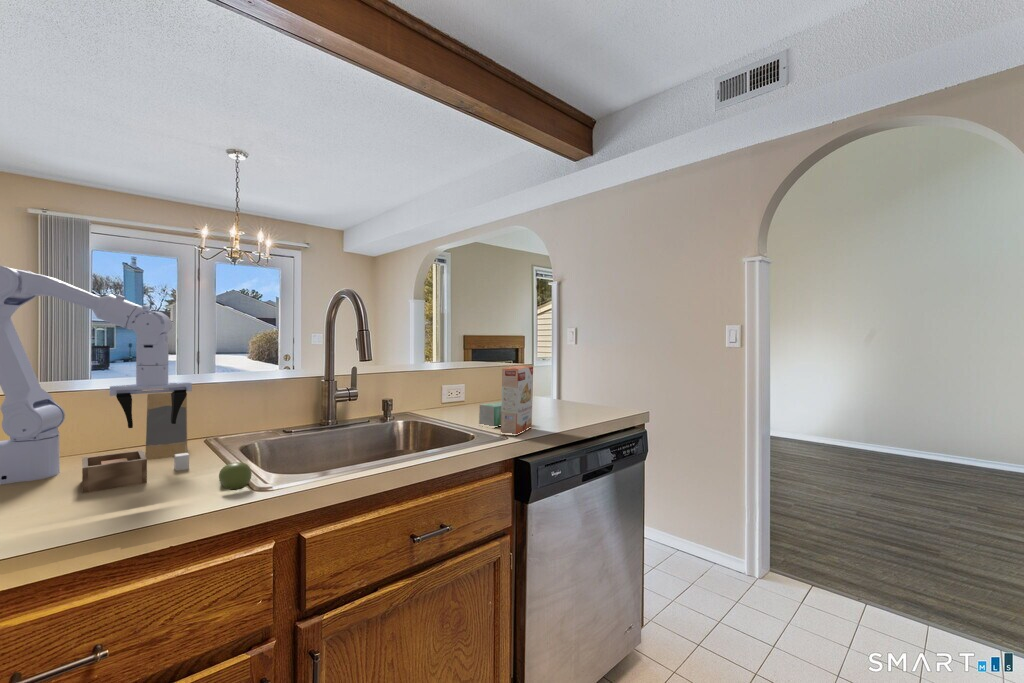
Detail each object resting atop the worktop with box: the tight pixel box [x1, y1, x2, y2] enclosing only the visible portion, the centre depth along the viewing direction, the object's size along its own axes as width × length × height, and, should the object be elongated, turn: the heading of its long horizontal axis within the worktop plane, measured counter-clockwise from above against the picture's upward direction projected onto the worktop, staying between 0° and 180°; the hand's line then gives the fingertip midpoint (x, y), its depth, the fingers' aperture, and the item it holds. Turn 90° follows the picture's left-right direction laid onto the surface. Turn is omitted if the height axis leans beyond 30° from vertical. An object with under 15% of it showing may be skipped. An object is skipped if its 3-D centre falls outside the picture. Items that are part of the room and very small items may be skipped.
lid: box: [173, 452, 190, 472], centre depth 104 cm, size 10×10×4 cm
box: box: [478, 401, 502, 426], centre depth 162 cm, size 7×14×8 cm, turn 138°
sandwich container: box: [144, 392, 188, 461], centre depth 118 cm, size 9×15×15 cm, turn 35°
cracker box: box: [500, 365, 534, 434], centre depth 150 cm, size 14×6×21 cm, turn 158°
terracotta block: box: [101, 458, 127, 465], centre depth 95 cm, size 4×4×4 cm
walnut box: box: [81, 449, 148, 494], centre depth 95 cm, size 10×10×6 cm
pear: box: [218, 461, 252, 491], centre depth 96 cm, size 6×5×10 cm
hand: (152, 425), depth 105 cm, fingers open, 7 cm apart
